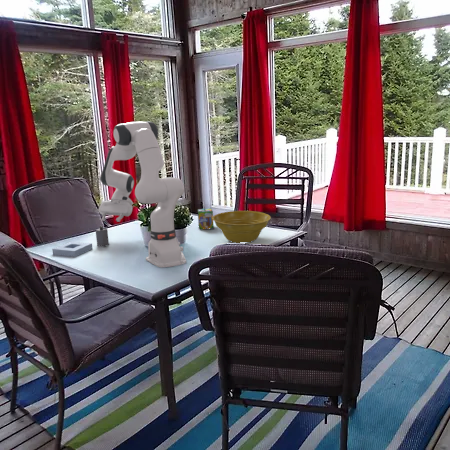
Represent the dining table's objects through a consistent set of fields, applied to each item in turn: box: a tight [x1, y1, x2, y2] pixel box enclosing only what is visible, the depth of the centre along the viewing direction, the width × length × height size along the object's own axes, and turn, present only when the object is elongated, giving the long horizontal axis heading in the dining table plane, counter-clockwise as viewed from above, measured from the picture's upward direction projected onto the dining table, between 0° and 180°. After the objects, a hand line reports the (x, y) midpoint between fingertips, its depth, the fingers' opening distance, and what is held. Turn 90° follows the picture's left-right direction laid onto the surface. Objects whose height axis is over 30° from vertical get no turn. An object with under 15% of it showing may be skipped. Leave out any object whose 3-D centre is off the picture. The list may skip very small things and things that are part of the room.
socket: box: [52, 241, 94, 258], centre depth 218 cm, size 14×14×3 cm
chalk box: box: [197, 204, 215, 230], centre depth 258 cm, size 9×9×15 cm
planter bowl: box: [212, 210, 272, 244], centre depth 230 cm, size 32×32×13 cm
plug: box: [95, 225, 110, 248], centre depth 227 cm, size 4×4×11 cm
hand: (110, 220), depth 233 cm, fingers open, 8 cm apart
